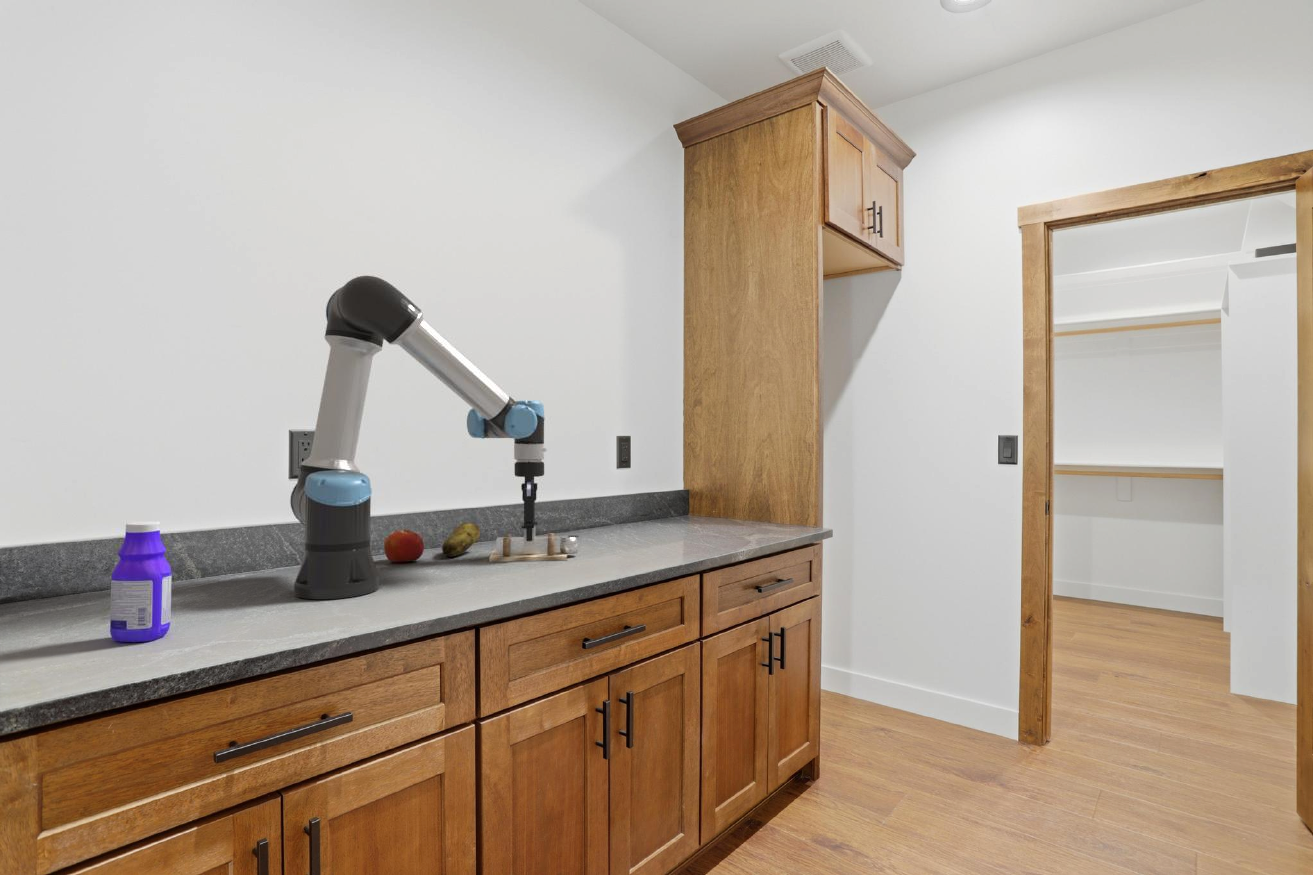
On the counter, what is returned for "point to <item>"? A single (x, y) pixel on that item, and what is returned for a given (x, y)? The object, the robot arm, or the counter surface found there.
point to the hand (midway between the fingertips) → (529, 552)
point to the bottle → (141, 586)
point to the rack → (526, 557)
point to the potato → (461, 539)
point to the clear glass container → (541, 545)
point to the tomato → (403, 546)
